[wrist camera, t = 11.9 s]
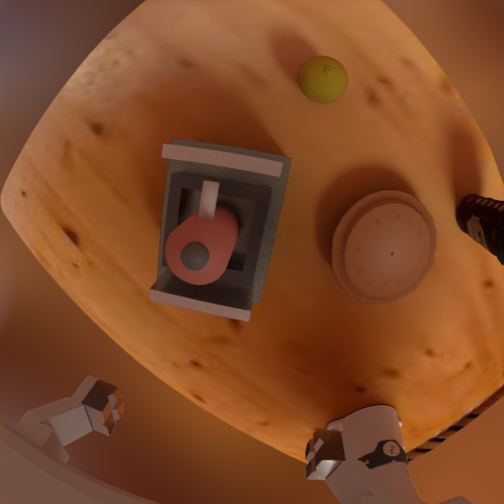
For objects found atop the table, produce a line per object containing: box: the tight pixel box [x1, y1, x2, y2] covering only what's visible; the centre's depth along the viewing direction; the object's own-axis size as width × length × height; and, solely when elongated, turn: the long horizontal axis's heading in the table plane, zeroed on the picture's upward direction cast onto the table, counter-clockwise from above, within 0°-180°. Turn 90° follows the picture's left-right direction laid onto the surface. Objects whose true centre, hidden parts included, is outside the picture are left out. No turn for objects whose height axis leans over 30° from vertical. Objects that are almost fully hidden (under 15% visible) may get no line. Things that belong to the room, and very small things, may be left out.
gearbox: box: [149, 138, 292, 322], centre depth 31 cm, size 20×12×13 cm, turn 169°
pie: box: [331, 190, 436, 304], centre depth 34 cm, size 15×16×5 cm
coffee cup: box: [456, 194, 504, 265], centre depth 28 cm, size 9×8×13 cm
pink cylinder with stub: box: [165, 181, 241, 285], centre depth 24 cm, size 8×5×10 cm, turn 169°
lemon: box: [298, 56, 348, 103], centre depth 27 cm, size 6×6×8 cm
